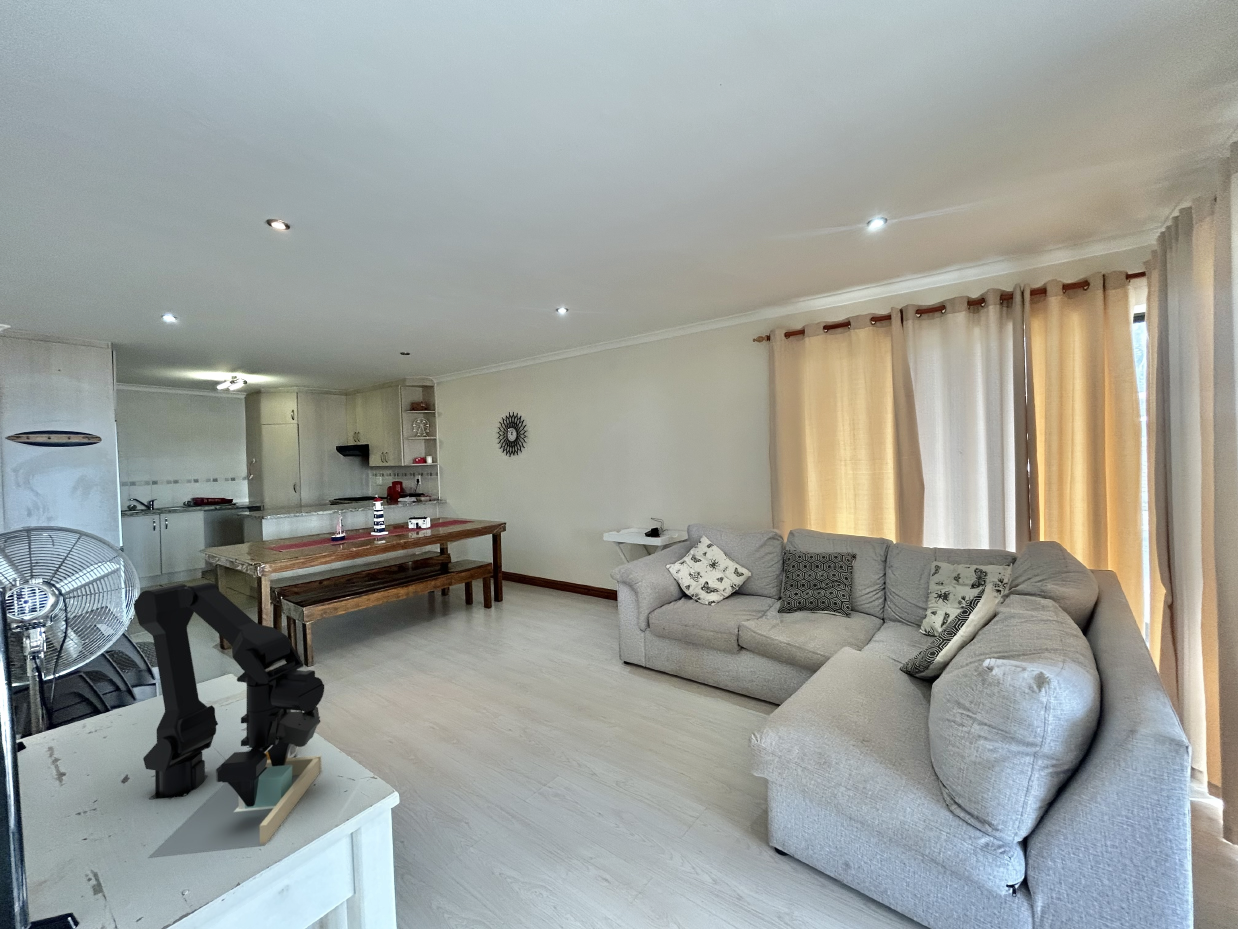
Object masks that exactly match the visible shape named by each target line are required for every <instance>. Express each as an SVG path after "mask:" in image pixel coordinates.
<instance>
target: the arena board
mask: <svg viewBox="0 0 1238 929" xmlns="http://www.w3.org/2000/svg"><path fill="white" fill-rule="evenodd" d="M285 765H292V786H291V787H290V789H289V790H288V791H287V792H286V794H285V795H284V796H283V797H282V799H281V800H280V801H279V802H278V804H277V805H276V806H269V807H258V808H247V809H239V795H238V794H237V792H236V791H235V790H234V789H233V788H232V787H231V786H230V785H229V784H228V783H227V782H224V783H222V785H221V786H220V787H219V788H218V789H217V790H216V791H215V792H214V793H213V794H211V796H209V797H208V799H206V801H205V802H203V804H202V805H200V806H199V807H198V808H197V809H196V810H195V811H194V812H193V813H192V814H191V815H190V816H189V817H188V818H187V819H186V820H185V821H184V822H183V823H182V824H181V825H180V826H178V828H176V830H175V831H174V832H172V833H171V835H169V837H167V838H166V839H165V840H164V841H163V842H162V843H161V844H160V845H159V846H158V847H157V848H156V849H155V850H154V851H153V852H152V853H151V854H149V856H148V857H147V859H153V858H162V857H163V858H164V857H170V856H171V857H172V856H178V855H179V856H180V855H190V854H199V853H200V854H201V853H209V852H211V853H212V852H218V851H227V850H238V849H247V848H249V849H250V848H255V847H256V848H257V847H265V846H266V844H267V843H268V842H269V841H270V839H271V838H272V837H273V836H274V834H275V833H276V832H277V830H278V829H279V827H280V826H281V825H282V824H283V822H284V821H285V819H286V818H287V817H288V816H289V814H290V813H291V811H292V810H293V809H294V807H295V806H296V805H297V804H298V803H299V801H300V800H301V798H302V797H303V795H304V794H305V793H306V792H307V790H308V789H309V787H311V785H312V784H313V782H314V781H315V780H316V778H317V777H318V775H319V774H320V773H321V772H322V755H312V756H299V757H298V756H297V757H293V758H287V760H286V763H285ZM265 767H272V764H271V760H267V763H266V766H265Z"/></svg>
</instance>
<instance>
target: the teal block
mask: <svg viewBox="0 0 1238 929" xmlns="http://www.w3.org/2000/svg"><path fill="white" fill-rule="evenodd" d="M291 786H292V765H285V766H273V767H267V769H266V770H265V771H264V772H263V773H262V774H261V775H260V776H259V781H258V788H257V796H256V801H255V805H254V806H252V807H247V806H246V805H245V803H244V802H243V801H242V799H241V798H240V797H239V809H247V808H258V807H269V806H276V805H277V804H278V802H279V801H280V800H281V799H282V797H283V796H284V795H285V794H286V792H287V791H288V790H289V789H290V787H291Z"/></svg>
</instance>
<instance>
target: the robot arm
mask: <svg viewBox="0 0 1238 929" xmlns="http://www.w3.org/2000/svg"><path fill="white" fill-rule="evenodd" d="M133 610H134V613H135V615H136V618H137V621H138V625H139V626H140V627H141V628H142V629H144V630H145V631H146V632H147V633H149V634H150V635H151V636H152V638H153V644H154V645H153V646H154V651H155V658H156V663H157V669H158V674H159V681H160V682H159V683H160V688H161V692H162V700H163V701H162V702H163V705H164V713H163V715H162V716H161V719H160V721H159V723H158V726H157V727H156V743H155V744H154V745H153V747H152V748H151V749H150V750H148V752H147V753H146V754H145V756H143V763H144V767H145V770H148V771H149V770H150V771H154V775H155V776H154V777H155V778H154V784H155V785H154V786H155V787H154V788H155V789H154V791H155V792H154V793H153V794H152V795H151V796H150V797H148V800H159V799H161V800H162V799H171V798H181V797H186V796H188V795H189V794H190V793H192V791H194V790H195V789H197V788H198V787H199V786H200V785H201V784H202V783H204V782H205V780H206V779H207V778H208V777H209V775H205V774H206V770H205V769H206V767H205V766H206V763H205V762H206V761H205V760H204V759H203V751H205V750H207V749H209V748H211V746H212V743H213V740H214V738H215V737H214V736H215V735H216V734H217V726H218V725H219V723H218V721H217V719H216V718H217V717H216V708H215V706H213V705H208V706H207V705H206V704H205V703H204V702H202V701H201V700H200V698H199V693H198V686H197V681H196V676H195V668H194V664H193V656H192V651H191V650H192V649H191V644H190V638H189V632H188V626H189V624H190V622H191V620H192V618H193V615H194V613H195V614H196V615H197V616H198V617H199V618H201V620H203V621H204V623H206V624H207V625H209V627H210V628H212V629H213V630H214V631H215V632H216V633H218V634H219V636H220V637H222V638H223V640H225V641H227V643H228V644H229V645H230V647H231V655H232V658H233V660H234V661H235V662H236V663H237V665H238V666H239V667H240V668H241V670H243V672H242V674H241V675H239V676H238V677H237V678H236V682H238V683H245V684H246V713H245V714H244V715H243V716H241V717H240V724H246V735H245V737H243V739H241V740H240V747H248V748H249V751H248V750H247V751H236V752H235V751H234V752H233V753H232V754H231V755H230V756H228V758H227V759H225V760H224V761H223V762H222V763H221V764H220V765H219V766H218V767H217V768H216V769H215V780H216V782H217V783H222V784H224V783H225V782H227V783H228V784H229V785H230V786H231V787H232V788H233V789H234V790H235V791H236V792H237V794H238V795H239V797H240V798H241V799H242V801H243V802H244V803H245V805H246V806H247V807H252V806H254V805H255V801H256V796H257V788H258V781H259V776H260V775H261V774H262V773H263V772H264V771H265V770H266V769H267V767H265V766H266V763H267V754H265V753H266V752H267V751H268V754H269V757H270V760H271V764H272V767H273V766H285V763H286V760H287V756H288V753H289V750H290V747H291V744H293V745H295V746H296V747H297V748H302V747H306V745H307V744H308V743H309V742H310V740H311V739H312V738H314V735H315V733H316V730H317V728H318V727H317V726H319V724H320V723H321V716H320V714H319V713H320V712H319V707H318V705H319V704H320V703H321V701H322V698H323V697H324V693H325V684H324V682H323V680H322V679H321V678H320V677H319V676H318V677H317V676H316V671H315V670H313V669H308V670H300V669H301V668H303V667H304V665H305V664H304V663H303V661H302V659H301V656H300V655H299V654H298V652H297V651H296V649H295V647H294V646H293V644H292V643H291V640H290V638H289V637H288V635H286V634H285V633H283V632H282V631H280V630H278V629H276V628H274V627H273V626H268V625H264V624H260V623H258V622H256V621H255V620H253V619H252V618H251V617H250V616H249V615H248V614H246V612H244V611H243V610H242V609H240V607H238V606H237V605H236V604H235V602H234V603H233V602H232V601H231V600H230V599H229V598H228V597H227V596H226V595H225V594H224V593H222V592H221V591H220V590H219V586H218V585H217V584H216V583H215V582H212V581H211V582H210V581H205V582H200V583H195V584H191V585H187V584H185V583H182V582H181V583H179V582H178V583H175V584H174V583H173V584H170V585H166V586H160V587H155V588H150V589H146V590H143V591H141V593H139V595H138V597H137V598H136V599H134V603H133ZM283 662H285V663H283ZM281 663H283V664H281ZM279 664H281V665H279ZM277 665H279V666H277ZM275 666H277V667H275ZM273 667H274V668H273ZM270 668H272V669H270ZM291 710H296V712H291Z"/></svg>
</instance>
